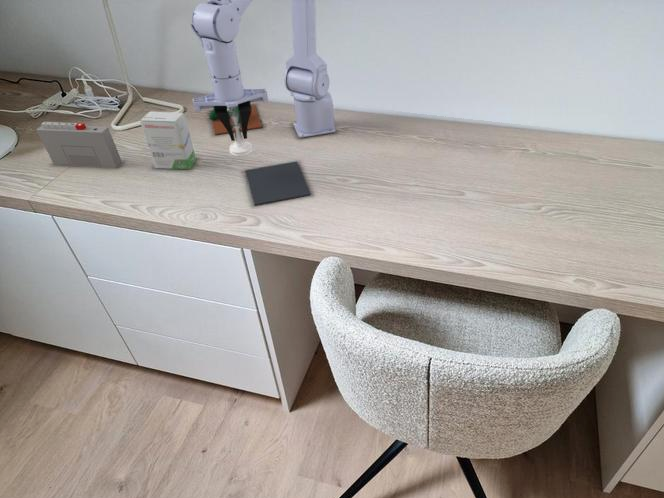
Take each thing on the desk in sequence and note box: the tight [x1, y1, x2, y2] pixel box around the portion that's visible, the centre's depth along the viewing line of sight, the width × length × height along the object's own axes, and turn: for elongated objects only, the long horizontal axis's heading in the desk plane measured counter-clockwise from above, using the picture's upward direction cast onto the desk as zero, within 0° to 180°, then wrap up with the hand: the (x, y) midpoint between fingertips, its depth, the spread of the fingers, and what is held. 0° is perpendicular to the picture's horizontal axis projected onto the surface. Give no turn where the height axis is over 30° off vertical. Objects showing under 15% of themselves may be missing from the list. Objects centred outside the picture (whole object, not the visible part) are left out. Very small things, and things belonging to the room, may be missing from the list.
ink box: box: [139, 110, 197, 170], centre depth 112 cm, size 9×5×12 cm, turn 84°
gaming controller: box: [209, 106, 241, 123], centre depth 130 cm, size 9×4×6 cm
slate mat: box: [244, 161, 312, 207], centre depth 109 cm, size 12×14×1 cm
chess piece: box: [228, 107, 254, 157], centre depth 103 cm, size 5×5×10 cm
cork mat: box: [209, 103, 263, 136], centre depth 131 cm, size 12×14×1 cm
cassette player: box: [35, 121, 123, 169], centre depth 113 cm, size 16×3×10 cm, turn 83°
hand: (238, 137), depth 104 cm, fingers closed on chess piece
